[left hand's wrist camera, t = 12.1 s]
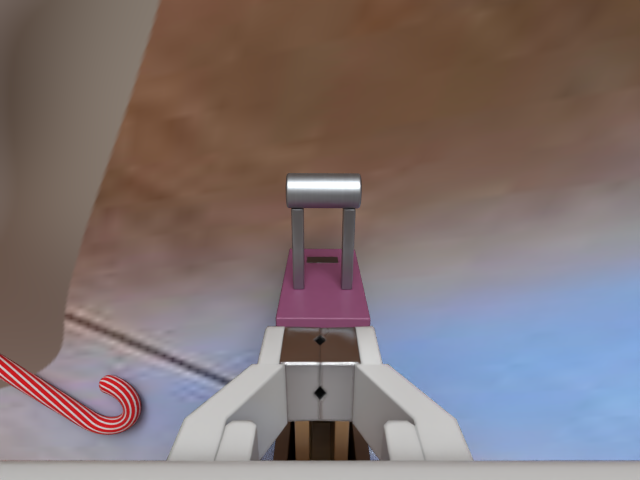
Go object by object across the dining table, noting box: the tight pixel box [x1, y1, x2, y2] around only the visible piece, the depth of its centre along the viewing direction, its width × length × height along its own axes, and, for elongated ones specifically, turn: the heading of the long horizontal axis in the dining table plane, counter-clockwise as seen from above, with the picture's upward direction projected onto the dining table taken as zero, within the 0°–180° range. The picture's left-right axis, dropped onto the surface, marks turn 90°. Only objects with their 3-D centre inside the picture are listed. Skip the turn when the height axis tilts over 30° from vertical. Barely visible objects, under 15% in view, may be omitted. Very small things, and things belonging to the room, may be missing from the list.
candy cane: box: [0, 354, 141, 435], centre depth 29 cm, size 6×15×2 cm, turn 46°
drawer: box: [276, 173, 370, 461], centre depth 23 cm, size 22×4×8 cm, turn 0°
